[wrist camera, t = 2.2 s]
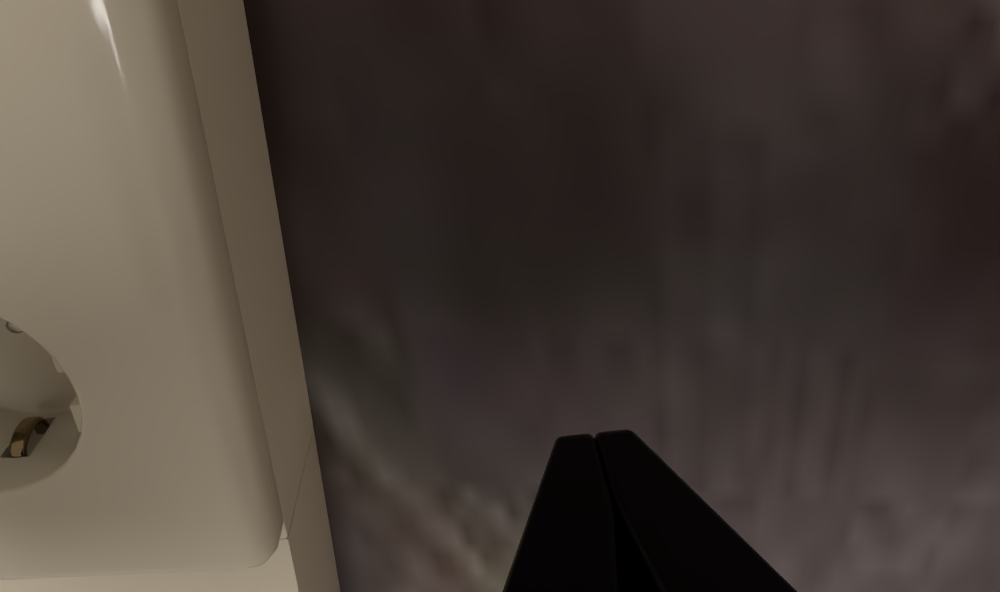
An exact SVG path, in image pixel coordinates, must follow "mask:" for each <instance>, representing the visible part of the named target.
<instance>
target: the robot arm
mask: <svg viewBox="0 0 1000 592" xmlns="http://www.w3.org/2000/svg"><path fill="white" fill-rule="evenodd" d="M503 592H797V591H796V590H795V589H794V588H793V587H792V586H791V585H790V584H789V583H788V582H787V581H786V580H785V579H784V578H783V577H782V576H780V575H779V574H778V573H777V572H776V571H775V570H774V569H773V568H772V567H771V566H770V565H769V564H768V563H767V562H766V561H765V560H764V559H763V558H762V557H761V556H760V555H759V554H758V553H757V552H756V551H755V550H754V549H753V548H752V547H751V546H750V545H749V544H748V543H747V542H746V541H745V540H744V539H743V538H742V537H741V536H740V535H738V534H737V533H736V532H735V531H734V530H733V529H732V528H731V527H730V526H729V525H728V524H727V523H726V522H725V521H724V520H723V519H722V518H721V517H720V516H719V515H718V514H717V513H716V512H715V511H714V510H713V509H712V508H711V507H710V506H709V505H708V504H707V503H706V502H705V501H704V500H703V499H702V498H701V497H700V496H699V495H698V494H696V493H695V492H694V491H693V490H692V489H691V488H690V487H689V486H688V485H687V484H686V483H685V482H684V481H683V480H682V479H681V478H680V477H679V476H678V475H677V474H676V473H675V472H674V471H673V470H672V469H671V468H670V467H669V466H668V465H667V464H666V463H665V462H664V461H663V460H662V459H661V458H660V457H659V456H658V455H657V454H656V453H654V452H653V451H652V450H651V449H650V448H649V447H648V446H647V445H646V444H645V443H644V442H643V441H642V440H641V439H640V438H639V437H638V436H637V435H636V434H635V433H634V432H632V431H630V430H616V431H607V432H599V433H598V434H596V436H595V438H593V436H592V435H590V434H579V435H569V436H561V437H559V438H558V439H557V440H556V441H555V443H554V446H553V449H552V452H551V455H550V458H549V460H548V463H547V466H546V469H545V472H544V475H543V478H542V480H541V483H540V486H539V489H538V492H537V495H536V498H535V500H534V503H533V506H532V509H531V512H530V515H529V517H528V520H527V523H526V526H525V529H524V532H523V535H522V537H521V540H520V543H519V546H518V549H517V552H516V555H515V557H514V560H513V563H512V566H511V569H510V572H509V575H508V577H507V580H506V583H505V586H504V589H503Z"/></svg>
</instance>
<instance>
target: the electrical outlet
mask: <svg viewBox="0 0 1000 592" xmlns="http://www.w3.org/2000/svg"><path fill="white" fill-rule="evenodd" d="M0 592H340V587H339V581H338V574H337V568H336V562H335V556H334V550H333V544H332V538H331V532H330V526H329V520H328V514H327V508H326V501H325V495H324V489H323V483H322V477H321V471H320V465H319V459H318V453H317V447H316V441H315V435H314V429H313V422H312V416H311V410H310V404H309V398H308V392H307V386H306V380H305V374H304V368H303V362H302V355H301V349H300V343H299V337H298V331H297V325H296V319H295V313H294V307H293V301H292V295H291V288H290V282H289V276H288V270H287V264H286V258H285V252H284V246H283V240H282V234H281V228H280V222H279V215H278V209H277V203H276V197H275V191H274V185H273V179H272V173H271V167H270V161H269V155H268V149H267V142H266V136H265V130H264V124H263V118H262V112H261V106H260V100H259V94H258V88H257V82H256V76H255V69H254V63H253V57H252V51H251V45H250V39H249V33H248V27H247V21H246V15H245V9H244V2H243V0H0Z"/></svg>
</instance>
